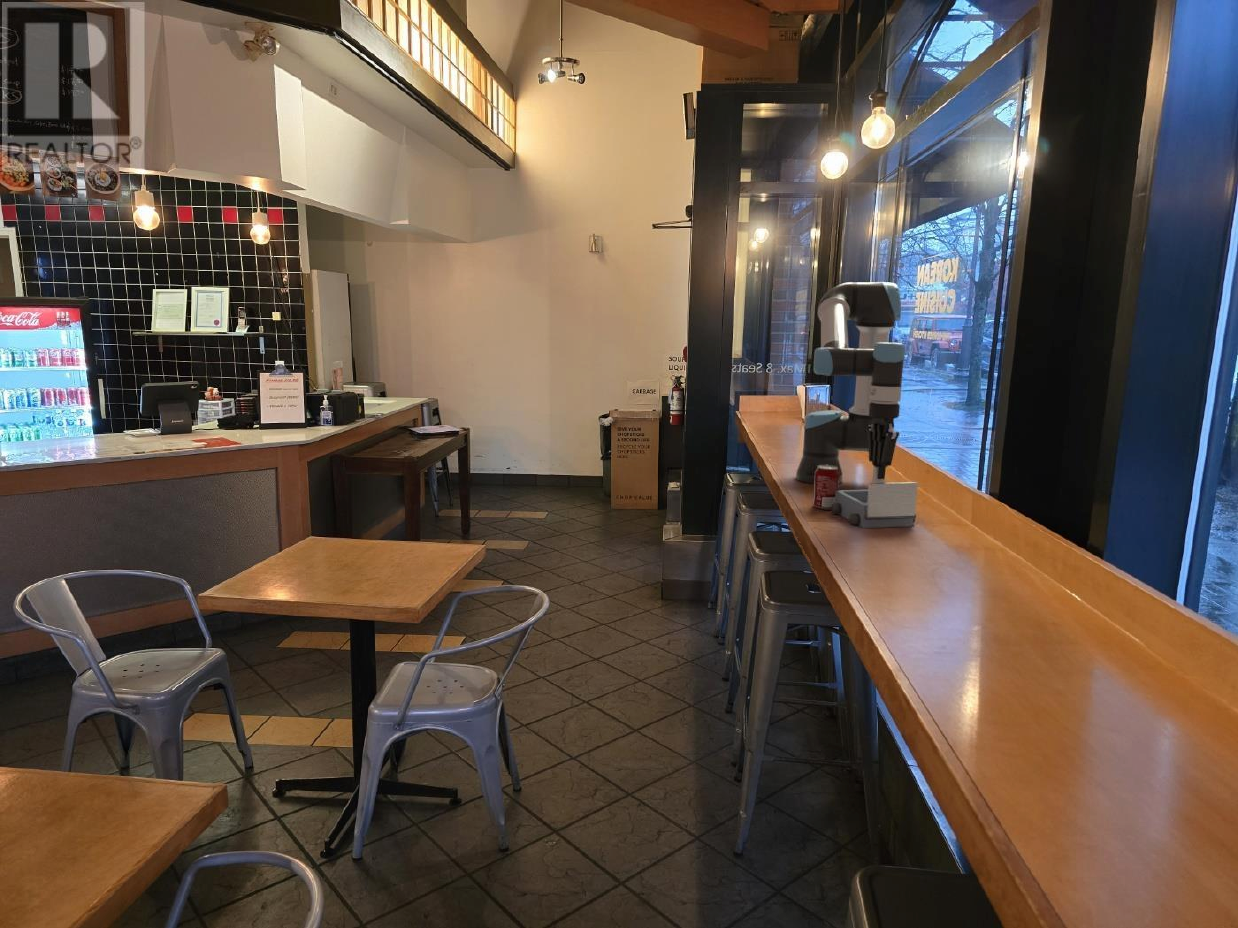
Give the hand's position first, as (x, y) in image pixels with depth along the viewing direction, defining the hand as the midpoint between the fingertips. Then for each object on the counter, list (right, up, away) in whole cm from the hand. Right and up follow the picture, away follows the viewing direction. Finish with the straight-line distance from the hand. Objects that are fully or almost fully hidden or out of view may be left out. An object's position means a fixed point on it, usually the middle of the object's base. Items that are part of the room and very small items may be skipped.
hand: (877, 489), depth 198 cm
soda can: (-10, -6, +14) cm, 19 cm away
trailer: (0, -8, +3) cm, 9 cm away
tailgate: (+1, -7, -6) cm, 9 cm away
